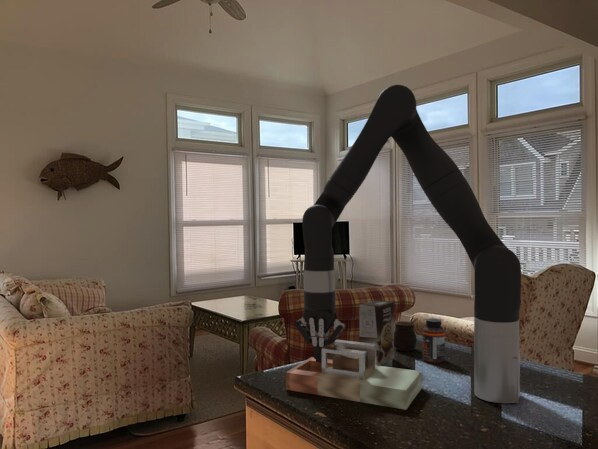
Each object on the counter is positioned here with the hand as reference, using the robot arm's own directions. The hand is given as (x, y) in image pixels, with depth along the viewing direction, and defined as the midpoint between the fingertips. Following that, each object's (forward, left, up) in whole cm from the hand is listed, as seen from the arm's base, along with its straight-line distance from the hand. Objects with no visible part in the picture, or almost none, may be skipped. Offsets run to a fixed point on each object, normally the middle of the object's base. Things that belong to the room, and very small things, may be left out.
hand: (320, 361), depth 118 cm
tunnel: (-7, 0, -1) cm, 8 cm away
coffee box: (-6, -24, -6) cm, 25 cm away
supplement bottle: (-20, -31, -6) cm, 38 cm away
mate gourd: (-10, -39, -6) cm, 41 cm away
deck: (-8, 0, -5) cm, 10 cm away
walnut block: (-7, 0, -1) cm, 8 cm away
